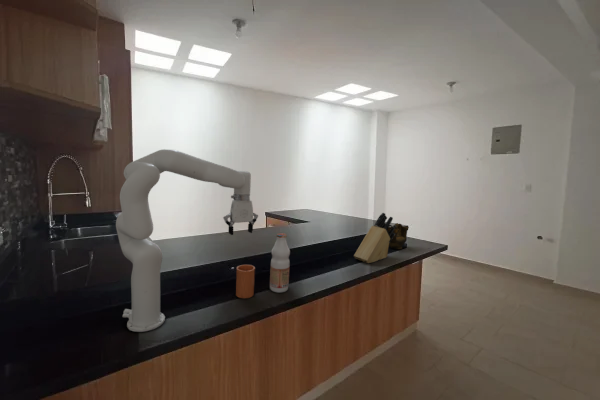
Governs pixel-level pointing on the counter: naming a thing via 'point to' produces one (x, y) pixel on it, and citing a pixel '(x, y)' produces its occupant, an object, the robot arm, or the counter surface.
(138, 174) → the robot arm
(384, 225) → the knife block
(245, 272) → the tube
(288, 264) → the fruit juice
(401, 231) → the pottery vessel
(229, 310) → the counter surface
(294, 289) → the counter surface
